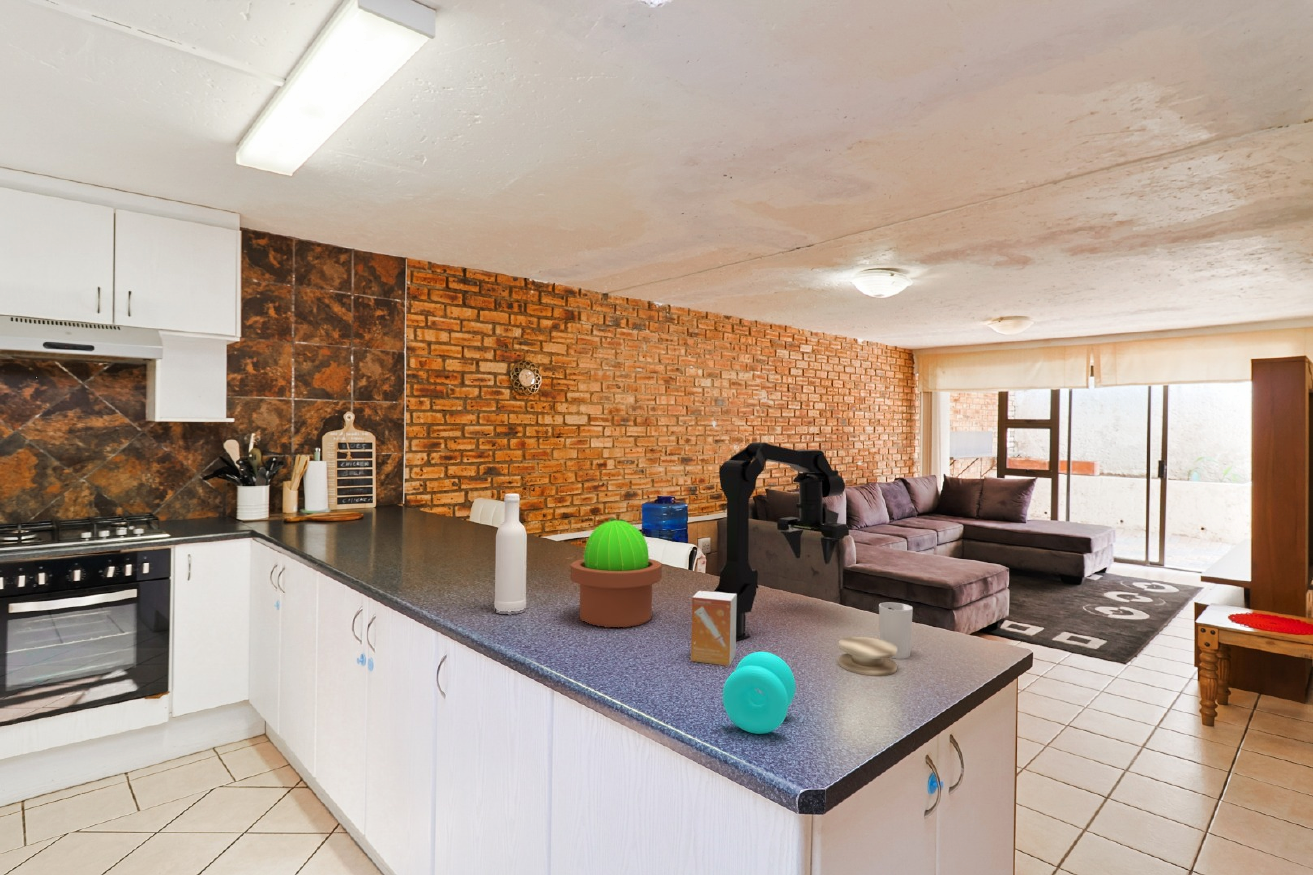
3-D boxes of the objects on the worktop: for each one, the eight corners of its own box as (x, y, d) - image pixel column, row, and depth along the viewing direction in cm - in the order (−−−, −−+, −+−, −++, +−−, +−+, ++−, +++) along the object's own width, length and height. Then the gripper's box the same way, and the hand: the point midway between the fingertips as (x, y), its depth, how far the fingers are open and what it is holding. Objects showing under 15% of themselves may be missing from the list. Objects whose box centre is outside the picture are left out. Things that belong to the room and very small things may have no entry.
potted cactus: (627, 637, 144) (629, 525, 144) (552, 621, 155) (554, 518, 155) (676, 615, 162) (677, 516, 162) (606, 603, 174) (607, 510, 174)
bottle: (501, 606, 168) (503, 492, 169) (530, 608, 167) (532, 493, 168) (489, 614, 160) (491, 494, 161) (519, 616, 159) (521, 495, 160)
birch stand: (878, 679, 119) (878, 658, 119) (827, 664, 128) (827, 643, 128) (907, 666, 127) (907, 646, 127) (857, 652, 135) (857, 633, 135)
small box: (690, 661, 128) (691, 596, 128) (697, 652, 134) (698, 589, 134) (730, 666, 125) (731, 600, 126) (736, 656, 131) (737, 592, 132)
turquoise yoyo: (720, 730, 97) (720, 664, 98) (735, 705, 107) (736, 645, 107) (786, 742, 94) (786, 674, 94) (796, 715, 103) (797, 653, 103)
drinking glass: (878, 656, 132) (878, 608, 132) (878, 647, 139) (879, 601, 139) (912, 661, 130) (913, 611, 130) (911, 651, 136) (912, 604, 136)
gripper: (862, 499, 159) (863, 561, 159) (803, 493, 174) (804, 551, 174) (833, 503, 152) (835, 569, 153) (774, 497, 167) (776, 557, 168)
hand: (812, 560), depth 162 cm, fingers open, 9 cm apart
